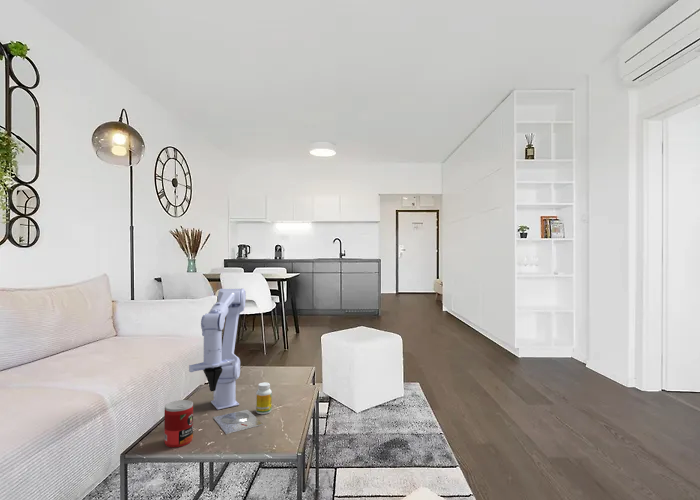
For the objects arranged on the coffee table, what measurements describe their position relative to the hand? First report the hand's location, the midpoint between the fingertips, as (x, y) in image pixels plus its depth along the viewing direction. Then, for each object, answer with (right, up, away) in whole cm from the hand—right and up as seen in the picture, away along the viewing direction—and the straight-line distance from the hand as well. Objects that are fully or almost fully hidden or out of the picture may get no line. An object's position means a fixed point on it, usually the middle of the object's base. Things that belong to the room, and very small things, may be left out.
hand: (212, 390), depth 128 cm
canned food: (-5, -10, -14) cm, 18 cm away
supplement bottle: (+15, -11, +8) cm, 20 cm away
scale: (+8, -10, 0) cm, 13 cm away
